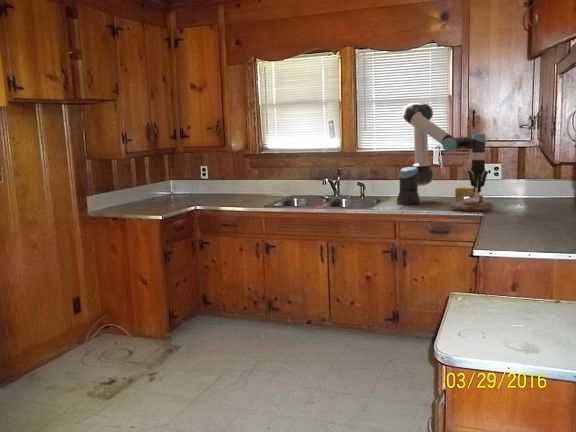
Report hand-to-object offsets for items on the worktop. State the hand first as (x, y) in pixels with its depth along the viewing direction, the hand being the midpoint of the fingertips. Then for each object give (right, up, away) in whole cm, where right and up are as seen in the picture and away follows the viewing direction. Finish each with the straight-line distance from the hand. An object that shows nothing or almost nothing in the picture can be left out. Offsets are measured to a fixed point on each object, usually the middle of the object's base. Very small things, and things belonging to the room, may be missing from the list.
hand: (477, 197), depth 339 cm
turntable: (-6, -6, -7) cm, 11 cm away
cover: (-6, -4, -8) cm, 11 cm away
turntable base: (-6, -8, -7) cm, 12 cm away
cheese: (-1, -3, +21) cm, 22 cm away
